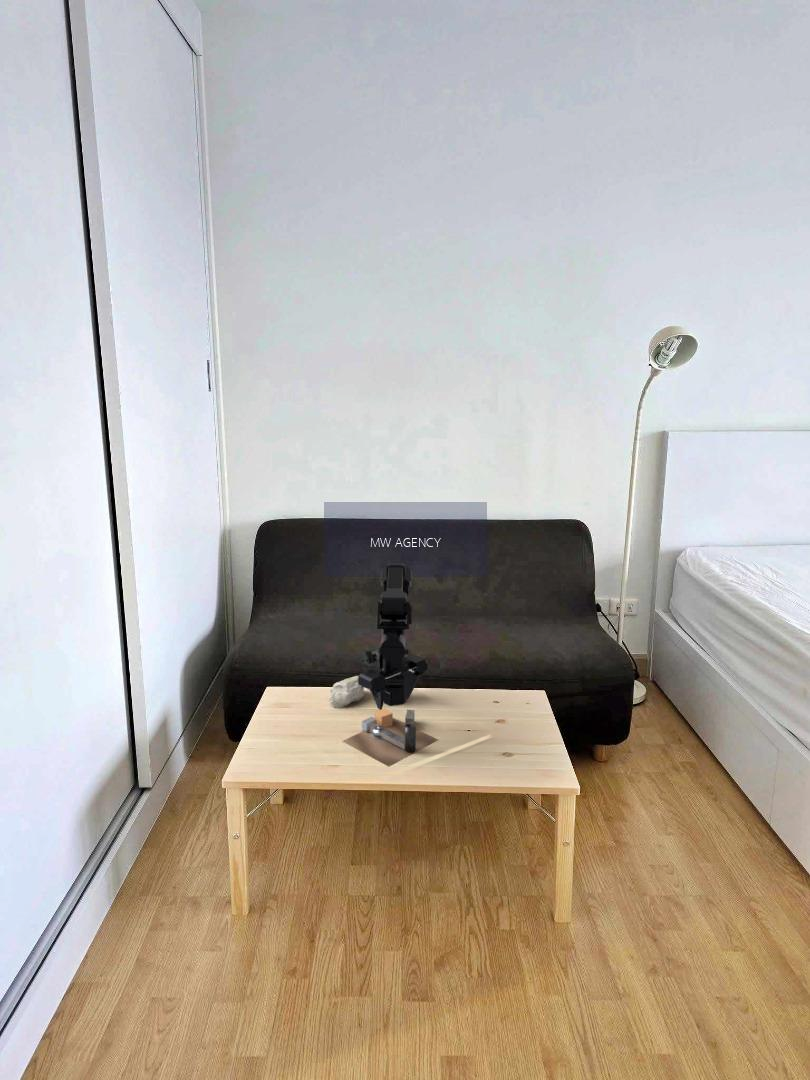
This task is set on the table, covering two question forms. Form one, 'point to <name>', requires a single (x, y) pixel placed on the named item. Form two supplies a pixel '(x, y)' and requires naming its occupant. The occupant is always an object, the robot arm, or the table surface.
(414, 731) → the lever
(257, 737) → the table surface
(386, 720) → the block
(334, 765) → the table surface
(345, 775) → the table surface
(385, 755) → the press bench
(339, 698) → the fossil replica
